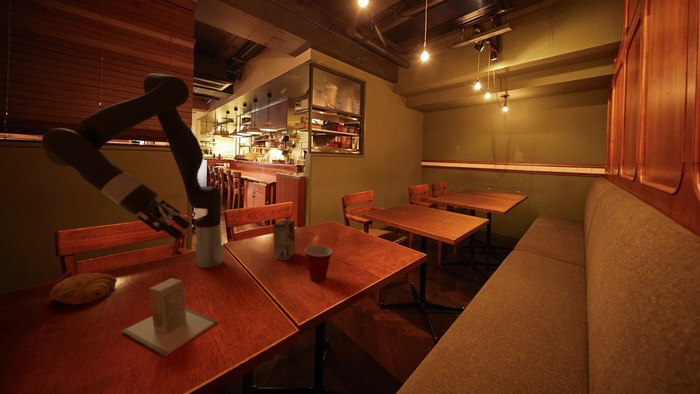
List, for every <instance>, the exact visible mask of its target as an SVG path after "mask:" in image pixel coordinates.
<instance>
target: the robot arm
mask: <svg viewBox="0 0 700 394" xmlns="http://www.w3.org/2000/svg"><path fill="white" fill-rule="evenodd" d="M142 82H143V83H142V86H143V87H142V89H143V92H144V94H142V95H141V96H140V95H139V96H138V97H134V98H132V99H128V100H124V101H119V102H117V103H113V104H111V105H108V106H105V107H103V108H101V109H99V110H97V111H95V112H93V113H92V114H90V115H88V116H86V117H84V118H83V119H82V120H81V121H80V122H79V124H78V126H77V127H76V128H75V129H73V130H72V129H68V128H63V127H57V128H51V129H49V130H47V131H46V132H44V134H43V135H42V138H41V143H42V146H43V151H44V154H45V156H46V157H47V159H48V160H49V161H50V162H52V163H53V164H55V165H58V166H63V167H71V168H73V169H74V170H76V171H77V172H78V174H79V175H80V177H81V178H82V179H83V180H84V181H85V182H87V183H88V184H89V185H91V186H92V187H94V188H95V189H97V190H99V191H100V192H101V193H102V194H104V195H105V196H106V197H107V198H108V199H110V200H111V201H113V202H114V203H115V204H117V205H118V206H120V207H122V208H123V209H124V210H126V212H129V213H131V214H132V215H135V216H136V215H138V214H139V215H138V216H137V219H138V220H139V221H141V222H142V223H144V224H145V225H147V226H148V227H150V228H151V229H152V230H153V231H155V232H156V233H159V232H165V233H166V234H168V235H170V236H171V237H173V238H174V239H175V240H178V239H179V238H180V237H181V236H182V235H183V233H184V232H183V231H182V230H187V229H188V228H189V227H190V226H191V222H189V221H188V220H186V219H185V218H184V217H182V216H181V212H180V210H179V209H178V208H176V207H174V206H173V205H171V204H170V203H169V202H167V201H166V200H164V199H161V200H160V201H158V200H156V199H157V198H158V196H159V195H158V193H157V192H155V191H154V190H153V189H151V188H150V187H149V186H147V185H146V184H145V183H143V182H142V181H140V180H139V179H138V178H136V177H135V176H133V175H131V174H129V173H128V172H126V171H125V170H124V169H122V168H121V167H119V166H118V165H116V164H115V163H113V162H112V161H110V160H109V159H108V158H107V157H106V155H104V154H103V153H102V152H101V151H100V149H102V148H103V147H104V146H105V145H106V144H107V143H109V142H111V141H112V140H115V139H116V138H117V137H119V136H121V135H123V134H124V133H125V132H127V131H129V130H131V129H132V128H134V127H136V126H137V125H140V124H141V123H143V122H145V121H148V120H149V119H152V118H154V117H157V119H158V122H159V124H160V127H161V128H162V132H163V133H164V134H163V135H165V139H166V141H167V143H168V146H169V150H170V152H171V154H172V157H173V158H174V161H175V163H176V166H177V169H178V171H179V174H180V177H181V178H182V182H183V186H184V188H185V189H184V190H185V192H186V193H185V194H186V196H187V200H188V202H189V204H190V206H191V207H192V208H194V209H198V210H199V209H200V210H207V212H206V214H205V215H203V216H202V215H201V216H199V217H197V218H196V219H195V221H194V225H195V239H196V242H195V254H196V255H195V257H196V259H195V260H196V264H197V267H199V268H201V269H210V268H215V267H218V266H219V265H222V264H223V247H222V246H223V245H222V229H221V218H222V193H221V191H220V189H219V188H218V187H216V186H201V185H200V182H199V179H198V175H199V171H200V168H201V166H202V163H203V161H204V155H203V151H202V148H201V146H200V143H199V139H197V136H196V135H195V134H194V133H193V131H192V130H191V128H189V126H188V125H187V124H186V123H185V121H184V120H183V118H182V117H181V115H180V113H179V110H178V107H180V106H183V105H184V104H186V103H187V102H188V101H189V97H190V91H189V87H188V85H187V84H186V82H185V81H184V80H183V79H182V78H179V77H178V76H175V75H171V74H163V73H148V74H147V75H145V77H144V79H143V81H142ZM169 221H171V222H174V223H175V225H177V226H179V227H180V228H182V230H181V229H179V228H177V227H176V226H175V225H174V224H171V223H170V222H169Z"/></svg>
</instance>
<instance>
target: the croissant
mask: <svg viewBox="0 0 700 394" xmlns="http://www.w3.org/2000/svg"><path fill="white" fill-rule="evenodd" d="M117 282H118V279H117V278H116V277H115V276H113V275H111V274H108V273H104V272H102V273H101V272H99V273H98V272H95V273H93V272H92V273H78V274H75V275H73V276H69V277H67V278H64V279H63V280H61V281H60V282H58V283H57V284H55V285H54V286H53V287H52V289H51V290H50V293H49V296H50V297H51V299H54V300H56V301H58V302H61V303H64V304H65V305H73V306H74V305H75V306H76V304H77V305H84V304H87V303H93V302H96V301H98V300H99V299H101V298H103V297H105V296H106V295H107V294H108V293H110V292H109V291H111V290H112V291H114V290H115V287H116V284H117ZM112 291H111V292H112ZM95 300H96V301H95ZM92 301H93V302H92ZM83 303H84V304H83Z"/></svg>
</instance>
